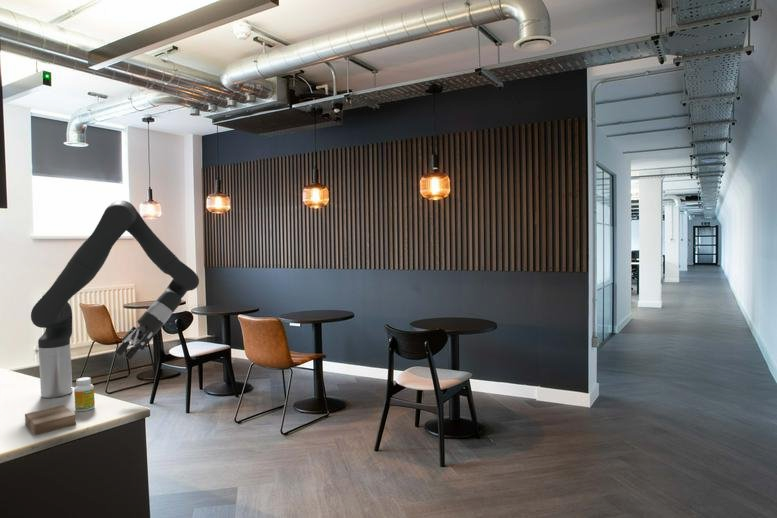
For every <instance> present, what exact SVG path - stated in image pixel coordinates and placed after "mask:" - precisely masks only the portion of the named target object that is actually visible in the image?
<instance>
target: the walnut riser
mask: <svg viewBox="0 0 777 518" xmlns="http://www.w3.org/2000/svg"><path fill="white" fill-rule="evenodd" d="M76 416H77V414H75V413H74V412H73V411H72V410H70V409H69V407H67V406H66V405H64V404H63V405H59V406H54V407H50V408H45V409H40V410H36V411H32V412H27V413H25V414H24V422H25V425H26V426H27V427H28V428H29V429H30V430H31V432H32V433H33V434H34V435H35V436H37V435H40V434H44V433H45V434H46V433H48V432H52V431H57V430H60V429H64V428H68V427H72V426H76V425H77V418H76Z"/></svg>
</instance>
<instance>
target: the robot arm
mask: <svg viewBox="0 0 777 518" xmlns="http://www.w3.org/2000/svg"><path fill="white" fill-rule="evenodd" d="M125 232H127V233H129V234H130V235H131V236H132V237H133V238H134V239H135V240H136V241H137V243H138V244H139V245H140V247H141V248H142V250H143V251H144V253H145V254H146V256H147V258H149V260H150V261H151V262H152V263H153V264H154V265H155V266H156V267H157V268H158V269H159V270H160V271H161V272H162V273H163V274H166V275H168V276H170V277H171V278H172V280H171V281H170V283H169V284H168V285H167V287H166V288H165V290H164V292H163V293H161V294H160V295H159V297H158V298H157V299H156V300H155V301H154V302H153V303H152V304H151V305H150V306H149V307H148V308H147V309H146V310H145V312H144V313H142V315H141V316H140V317H139V318H138V319H137V321H136V322H137V324H138V325H139V326H138V327H136V326H132V328H131V329H130V330H129V331H127V333H126V334H125V335H124V336H123V337H122V339H121V341H122V342H121V344H119V346H118V347H117V349H116V350H115V351H114V352H115V354H117V355H118V356H122V355H123V354H124V352H125V351H126V350H127V349H128V348H129V346H131V345H132V346H131V347H130V348H129V349H128V351H126V353H125V354H124V358H126V359H127V360H131V359H132V358H133V357H134V356H135V355H136V353H137V352H138V351H139V352H140V351H143V350H144V349H145V348H146V347H147V345H148V344H149V343H150V342H151V341H152V340H153V338H154V337H155V336H154V335H156V334H157V333H158V332H159V331H160V330H161V329H162V327H163V326H164V325H165V324H166V323H167V321H168V320H169V319H170V317H171V316H172V314H173V313H174V312H175V311H176V310H177V308H178V307H179V306H180V304H181V303H182V299H183V298H184V296H185V295H186V293H188V292H190V291H193V290H195V289H197V288H198V287H199V285H200V279H199V276H198V275H197V273H196V272H195V271H194V270H193V269H192V268H191V267H189V266H188V265H186V264H185V263H184V262H183V261H181V260H180V259H179V257H177V256H176V254H175V253H174V252H173V251H171V249H170V248H168V246H167V245H166V244H165V243H164V242H163V241H162V240H161V239H160V238H159V237H158V236H157V235H156V233H154V231H153V230H152V229H151V228H150V226H149V225H148V223H146V221H145V220H144V219H143V217H142V216H141V214H140V213H139V212H138V210H137V208H136V207H135V206H134V205H133V203H131V202H129V201H127V200H124V199H122V200H121V199H120V200H116V201H114V202H112V203H111V204H110V205H108V206H107V207H106V208H105V210H104V212H103V214H102V216H101V217H100V219H99V221H98V223H97V224H96V226H95V229H94V230H93V231H92V233H91V235H89V237H88V238H86V240H85V241H84V242H83V243H82V244H81V245H80V246H79V247H78V249H77V250H76V251H75V252H74V253H73V255H72V257H71V258H70V259H69V261H68V262H67V263H66V264H65V266H64V268H63V270H62V271H61V272H60V274H59V275H58V276H57V278H56V279H55V281H54V282H53V284H52V285H51V286H50V287H49V289H47V291H46V292H45V293H44V294H43V295H42V296H41V298H40V299H39V300H38V301H37V302H36V303H35V305H33V307H32V309H31V313H30V320H31V322H32V324H33V325H34V326H35V327H38V328H41V329H42V328H43V329H45V330H44V332H43V334H42V335H41V336H40V337H39V339H38V340H37V346H38V361H39V362H38V364H39V365H38V366H39V380H40V381H39V382H40V397H41V398H45V399H49V398H51V399H52V398H59V397H64V396H67V395H69V394H71V393H73V377H72V373H73V372H72V357H71V356H72V354H71V337H72V335H73V311H72V310H73V309H72V306H71V304H70V303H69V301H70V300H71V298H73V297H74V295H76V294H77V293H78V292H79V291H81V290H82V289H84V288H85V287H86V286H87V285H88V284H90V283H91V282H92V280H93V279H94V278H95V277H96V276H97V274H98V273H99V272H100V270H101V269H102V267H103V266H104V264H105V263H106V260H107V259H108V256H109V254H110V253H111V250H112V248H113V247H114V245H115V244H116V242H117V241H118V240H119V239H120V238H121V237H122V236H123V234H125ZM71 387H72V388H71Z"/></svg>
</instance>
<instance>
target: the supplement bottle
mask: <svg viewBox="0 0 777 518" xmlns="http://www.w3.org/2000/svg"><path fill="white" fill-rule="evenodd" d="M91 378H92V377H88V376H86V377H85V376H84V377H80V378H77V379H76V380H75V381H76V386H75V387H74V388H73V392H74V410H75V411H76V412H87V411H90V409H91V410H93V409H94V408H95V402H96V401H95V387H94V385H93V384H92V383H91V382H92V379H91Z"/></svg>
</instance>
